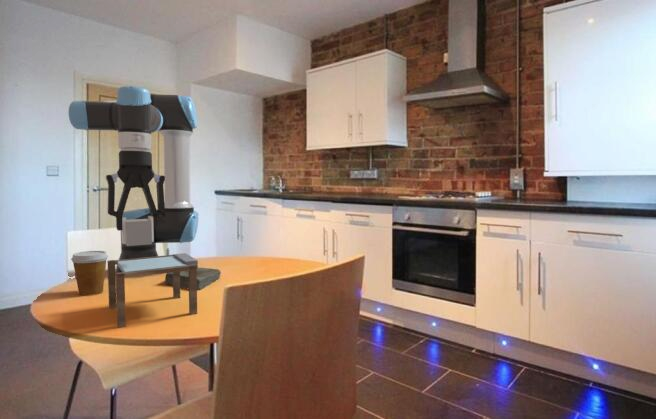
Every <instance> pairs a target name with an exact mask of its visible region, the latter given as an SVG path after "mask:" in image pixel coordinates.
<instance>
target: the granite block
mask: <svg viewBox="0 0 656 419" xmlns="http://www.w3.org/2000/svg"><path fill="white" fill-rule="evenodd" d="M126 241H127V244H126V245H127V246H135V245H148V244H152V224H151V220H149V219H133V220H126Z"/></svg>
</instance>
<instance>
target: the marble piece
mask: <svg viewBox="0 0 656 419" xmlns="http://www.w3.org/2000/svg"><path fill="white" fill-rule="evenodd" d="M221 273H222V272H221V270H220V269H218V268H207V267H198V269H197V291H200V290H203V289H205V288H206V286H207V287H208V286H210V285H212V284H214V283H215V282H217V281H219V280H220V279H221ZM218 279H219V280H218ZM164 280H165V281H164V282H165V284H167V285H169V286H172V287H173V272H172V273H165V278H164ZM216 280H217V281H216ZM211 283H212V284H211ZM180 288H183V289H187V288H188V290H189V271H180Z"/></svg>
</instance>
